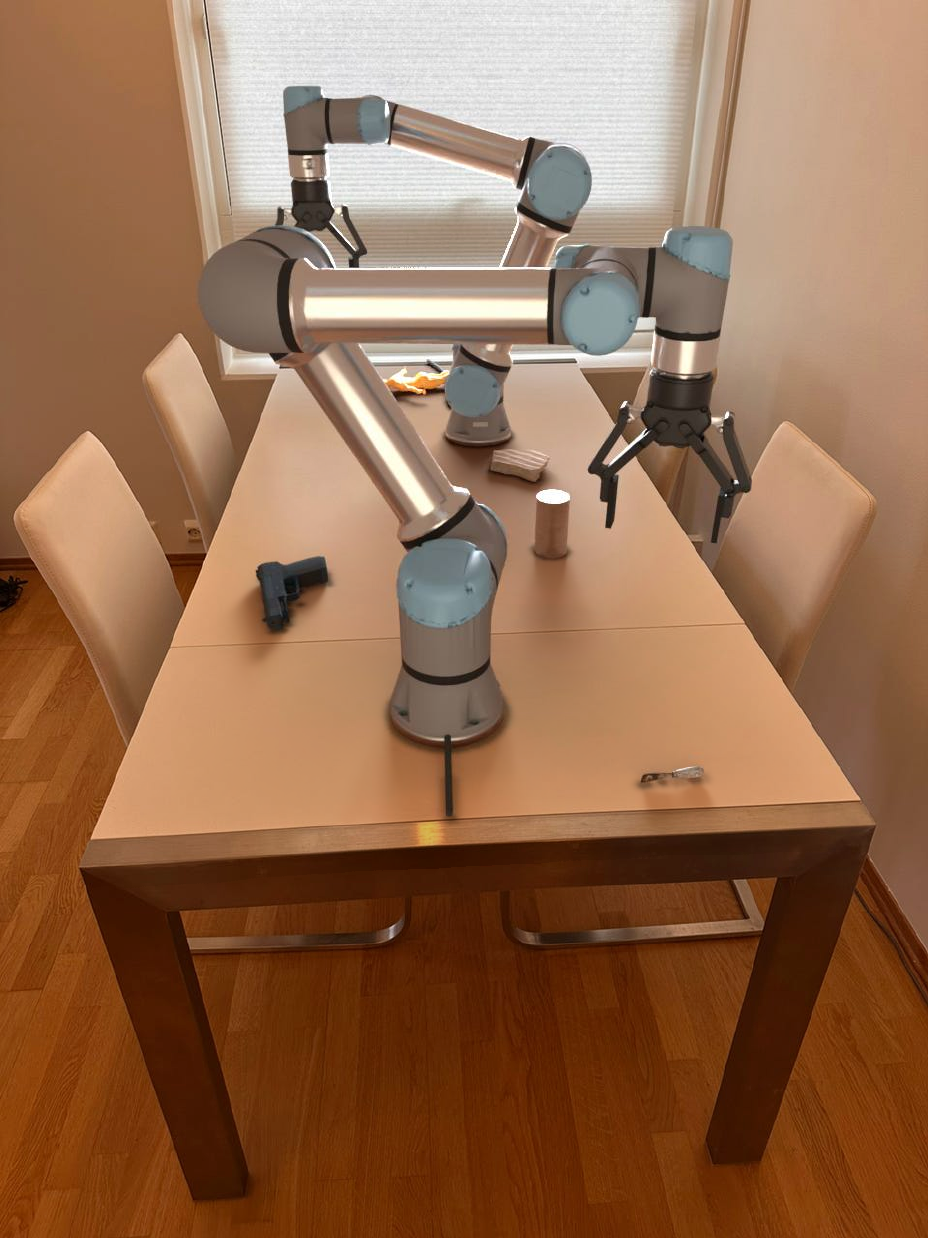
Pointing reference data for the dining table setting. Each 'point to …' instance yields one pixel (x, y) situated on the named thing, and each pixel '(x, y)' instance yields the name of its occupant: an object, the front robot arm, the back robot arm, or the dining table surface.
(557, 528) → the canister
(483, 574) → the front robot arm
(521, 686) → the dining table surface
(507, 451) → the beige ridged slab
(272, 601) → the handgun
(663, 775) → the putty knife
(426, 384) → the orange white flat wedge
